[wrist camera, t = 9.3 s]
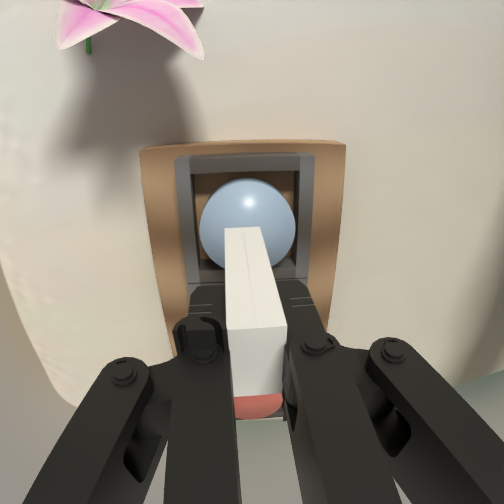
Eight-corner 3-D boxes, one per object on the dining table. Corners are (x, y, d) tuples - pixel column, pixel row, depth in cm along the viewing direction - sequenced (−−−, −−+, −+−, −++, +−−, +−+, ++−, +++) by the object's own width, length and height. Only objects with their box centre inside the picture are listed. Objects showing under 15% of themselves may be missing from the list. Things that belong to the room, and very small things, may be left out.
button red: (218, 371, 23) (218, 386, 22) (281, 368, 24) (284, 382, 22) (223, 407, 26) (223, 420, 24) (279, 404, 26) (281, 417, 25)
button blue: (198, 179, 16) (195, 186, 15) (291, 176, 17) (297, 183, 15) (205, 262, 19) (203, 275, 17) (288, 258, 19) (293, 270, 18)
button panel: (147, 146, 18) (131, 155, 15) (335, 140, 19) (355, 148, 16) (189, 395, 29) (187, 423, 26) (309, 388, 29) (315, 415, 26)
